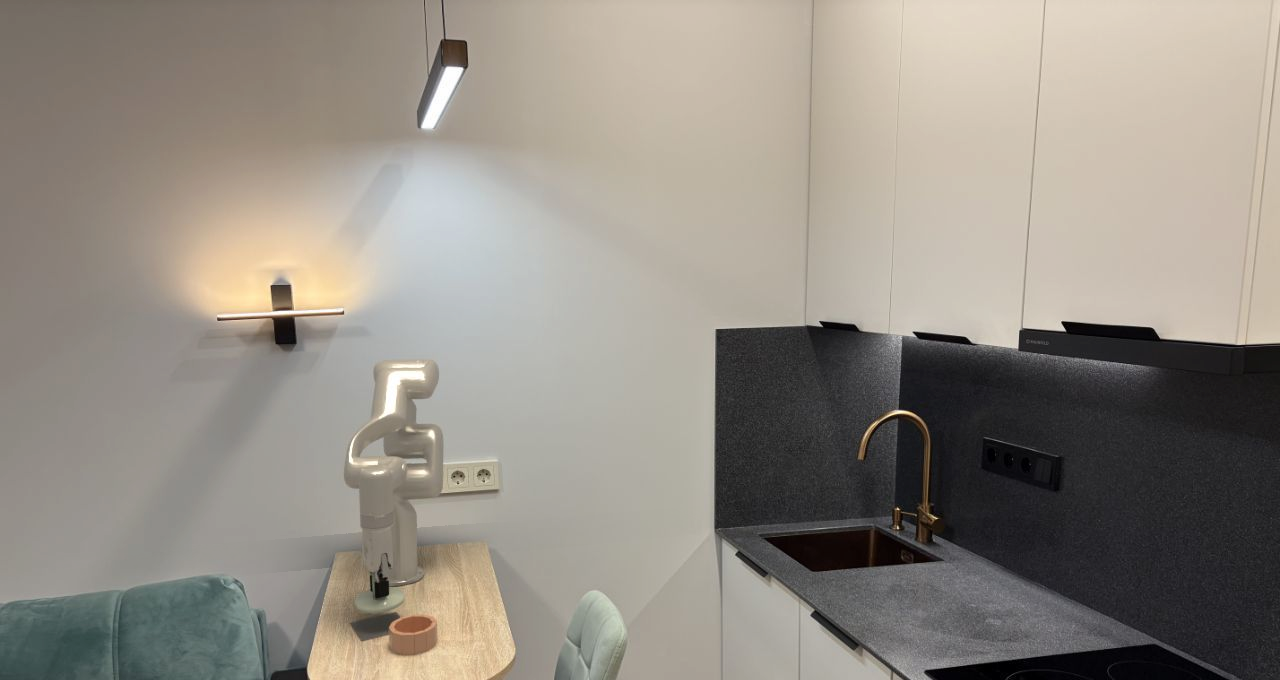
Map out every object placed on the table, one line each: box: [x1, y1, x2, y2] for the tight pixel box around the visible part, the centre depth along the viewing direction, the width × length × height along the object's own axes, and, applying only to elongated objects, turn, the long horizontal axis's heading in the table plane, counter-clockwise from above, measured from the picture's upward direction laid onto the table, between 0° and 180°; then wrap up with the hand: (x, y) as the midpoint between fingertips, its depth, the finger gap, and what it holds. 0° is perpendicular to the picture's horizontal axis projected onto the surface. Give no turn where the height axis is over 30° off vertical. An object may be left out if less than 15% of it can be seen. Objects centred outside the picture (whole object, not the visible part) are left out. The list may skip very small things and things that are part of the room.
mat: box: [349, 611, 402, 642], centre depth 181 cm, size 11×11×1 cm
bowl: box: [388, 613, 438, 656], centre depth 173 cm, size 10×10×5 cm
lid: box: [354, 572, 405, 614], centre depth 182 cm, size 11×11×7 cm
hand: (379, 592), depth 182 cm, fingers closed on lid, 3 cm apart
